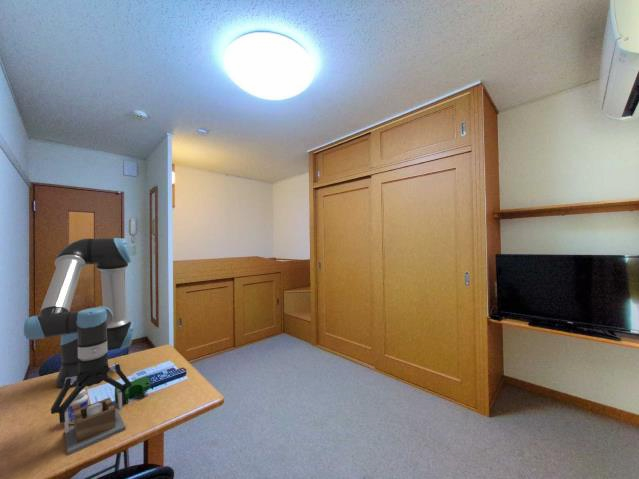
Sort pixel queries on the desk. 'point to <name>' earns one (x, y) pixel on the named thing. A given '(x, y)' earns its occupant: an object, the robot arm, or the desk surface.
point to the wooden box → (94, 421)
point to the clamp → (135, 388)
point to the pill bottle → (77, 405)
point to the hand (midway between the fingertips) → (94, 419)
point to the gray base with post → (74, 446)
